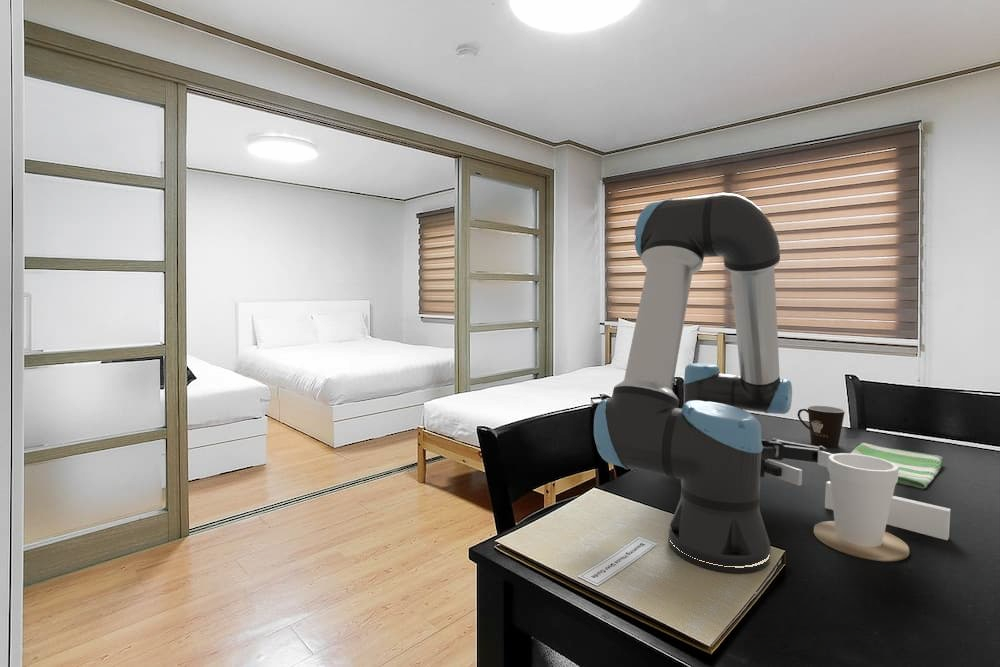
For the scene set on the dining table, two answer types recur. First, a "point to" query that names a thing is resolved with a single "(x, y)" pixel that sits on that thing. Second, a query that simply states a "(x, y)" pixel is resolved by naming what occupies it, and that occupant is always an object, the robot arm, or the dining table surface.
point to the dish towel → (906, 463)
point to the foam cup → (861, 496)
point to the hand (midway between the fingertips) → (827, 472)
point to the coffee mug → (824, 425)
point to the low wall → (912, 515)
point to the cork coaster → (887, 551)
